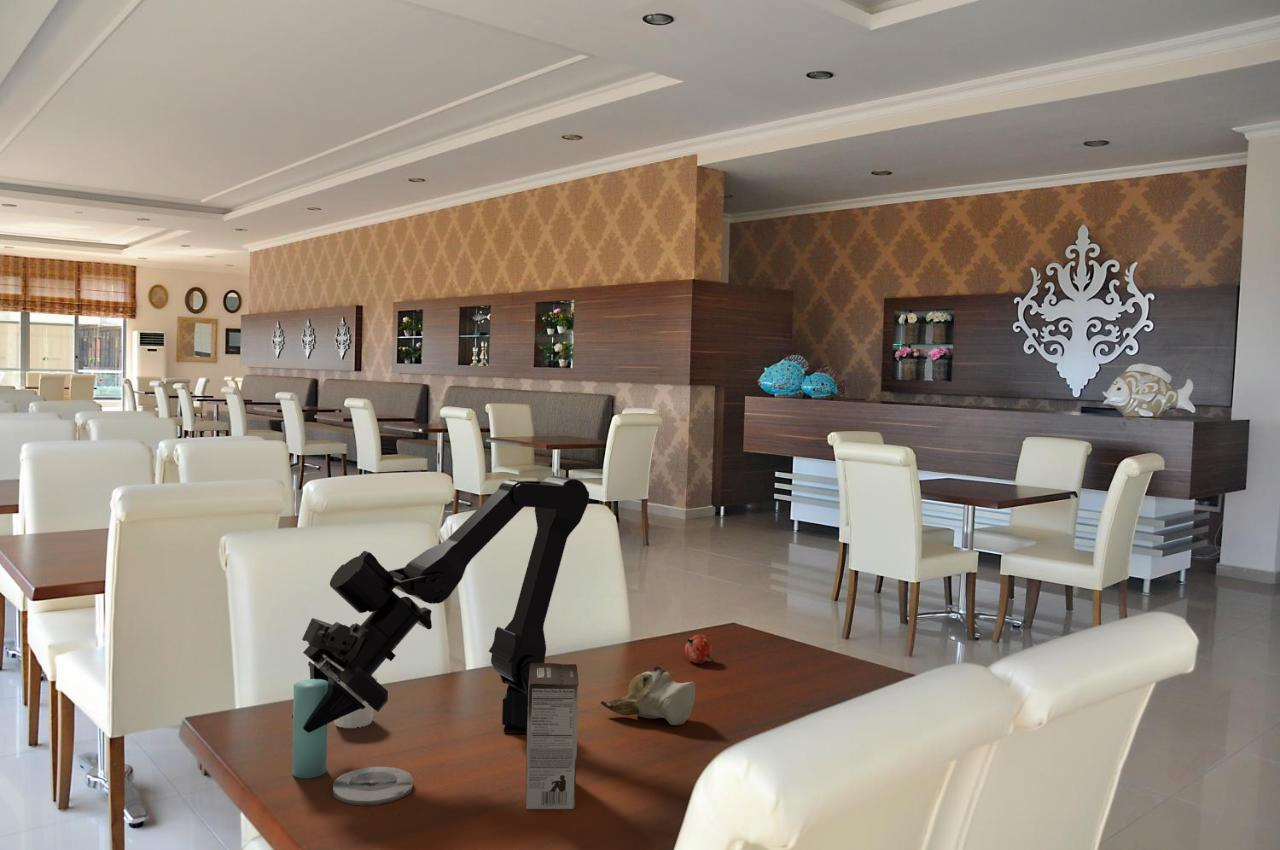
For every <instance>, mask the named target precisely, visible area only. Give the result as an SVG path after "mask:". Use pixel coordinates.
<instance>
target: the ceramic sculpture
mask: <svg viewBox="0 0 1280 850" xmlns="http://www.w3.org/2000/svg"><path fill="white" fill-rule="evenodd" d="M695 693H696V683H695V682H694V681H688V682H687V681H686V682H682V683H681V682H676V681H674V680H673V679H672V676H671V673H669V671H668V670H667V669H664V668H662V667H660V666H655V667H653V670H652V671H645V672H642V673H639V674H637V675H636V676H635V677H633V678H632V680H631V681H630V683H629V685H628V692H627V695H626V696H622V697H621V696H620V697H617V698H614V699H611V700H610V701H609V700H607V701H604V700H602V701H599V703H600V704H601V705H602V706H603V707H605V708H606V709H608V710H610V711H611V712H613V713H615V714H618V715H622V716H633V715H637V716H638V717H641V718H644V719H649V720H651V719H652V720H657V719H660V718H662V719H665V720H666V721H667V722H668V724H669V725H672V726H682V725H684V724H685V722H686V721H687V720H688V719H689V717H690V715H691V713H692V710H693V706H694V705H695V697H696V694H695Z"/></svg>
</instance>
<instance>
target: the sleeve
mask: <svg viewBox="0 0 1280 850" xmlns="http://www.w3.org/2000/svg"><path fill="white" fill-rule="evenodd" d="M327 691H328V682H327V681H326V680H321V679H310V678H308V679H307V678H306V679H302V680H299V681H296V682H295V683H294V684H293V700H292V701H293V702H292V703H293V704H292V705H293V706H292V708H293V709H292V712H293V713H292V715H293V719H292V749H291V750H292V754H291V755H292V756H291V757H292V759H291V762H292V764H291V775H292V776H293V777H294V778H299V779H313V778H317V777H320V776H323V775H324V774H326V772H327V757H328V754H327V753H328V724H326V725H324V726H322V727H320V728H318V729H316V730H314V731H312V732H310V733H308V732H306V731H305V730H304V729H303V726H304V725H305V723H306V722H307V720H308V718H309V717H310V716H311V714H312V713H313V711H314V710H315V709H316V707H317V706H318V704H319V703H320V702H321V700H322V699H323V697H324V696H325V695H326V693H327Z"/></svg>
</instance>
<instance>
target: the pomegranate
mask: <svg viewBox="0 0 1280 850" xmlns="http://www.w3.org/2000/svg"><path fill="white" fill-rule="evenodd" d="M686 642H687V643H686V644H685V647H684V652H685V656H686V657H687V659H688V660H689V661H692V662H693V663H695V664H698V665H702V664H705V663H706V661H707V658H708V659H709V660H711V661H712V662H713V661H714V659H713V658H712V657H710V656H711V655H712V653H713V652H712V651H713V646H712V641H711V640H710V638H709V637H708V636H707V635H705V634H695V635H693V636H691V637H689V638H687V639H686Z"/></svg>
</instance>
